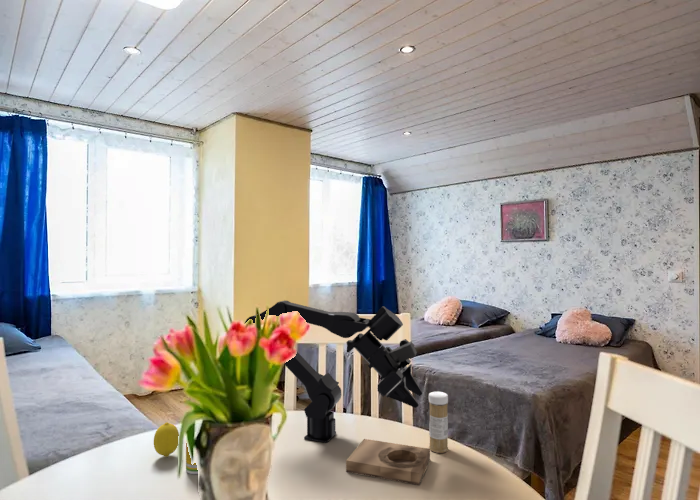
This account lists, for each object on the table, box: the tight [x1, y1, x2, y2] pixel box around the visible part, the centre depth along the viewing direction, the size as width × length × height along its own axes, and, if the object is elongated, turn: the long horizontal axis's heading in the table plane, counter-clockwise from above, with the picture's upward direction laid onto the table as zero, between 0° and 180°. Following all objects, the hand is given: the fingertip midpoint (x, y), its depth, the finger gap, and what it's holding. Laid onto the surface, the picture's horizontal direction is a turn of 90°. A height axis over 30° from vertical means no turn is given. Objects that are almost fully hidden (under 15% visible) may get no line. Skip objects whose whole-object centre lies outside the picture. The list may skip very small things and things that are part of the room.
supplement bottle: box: [185, 442, 199, 475], centre depth 96 cm, size 5×5×10 cm
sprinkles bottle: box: [428, 391, 449, 454], centre depth 105 cm, size 5×5×14 cm
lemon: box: [153, 421, 180, 458], centre depth 102 cm, size 6×6×8 cm
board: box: [345, 438, 431, 486], centre depth 97 cm, size 16×12×2 cm
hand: (419, 400), depth 107 cm, fingers open, 9 cm apart
